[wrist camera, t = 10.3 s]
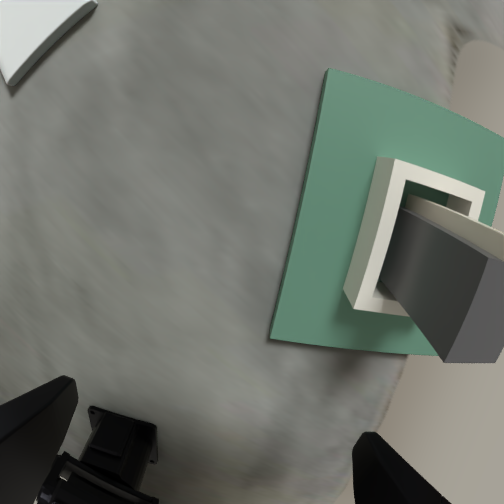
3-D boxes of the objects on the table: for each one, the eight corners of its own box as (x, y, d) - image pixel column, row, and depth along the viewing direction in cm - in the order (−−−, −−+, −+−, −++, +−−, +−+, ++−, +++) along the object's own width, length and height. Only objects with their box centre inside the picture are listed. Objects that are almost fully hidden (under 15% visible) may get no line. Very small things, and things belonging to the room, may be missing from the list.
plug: (414, 277, 18) (494, 362, 10) (372, 270, 18) (443, 362, 9) (437, 202, 17) (542, 250, 8) (394, 190, 16) (496, 234, 8)
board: (435, 348, 21) (454, 375, 18) (269, 329, 21) (270, 362, 17) (500, 140, 16) (533, 143, 13) (325, 71, 15) (339, 56, 12)
